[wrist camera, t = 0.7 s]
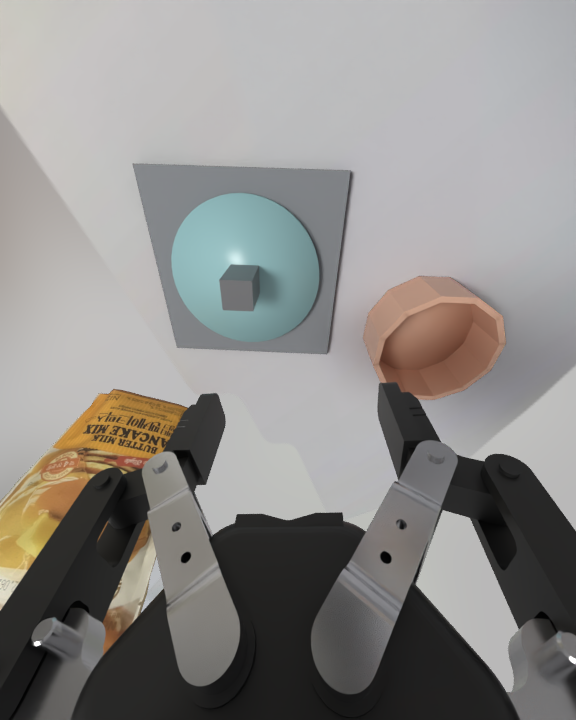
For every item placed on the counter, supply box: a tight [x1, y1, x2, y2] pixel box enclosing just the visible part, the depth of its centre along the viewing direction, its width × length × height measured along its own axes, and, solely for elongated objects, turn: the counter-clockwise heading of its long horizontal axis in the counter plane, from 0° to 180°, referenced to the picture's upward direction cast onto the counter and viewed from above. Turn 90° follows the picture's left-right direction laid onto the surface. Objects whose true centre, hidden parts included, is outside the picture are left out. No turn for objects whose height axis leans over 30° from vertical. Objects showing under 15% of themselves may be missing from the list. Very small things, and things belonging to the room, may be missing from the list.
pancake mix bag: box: [0, 389, 188, 655], centre depth 33 cm, size 7×19×28 cm, turn 72°
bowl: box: [363, 276, 506, 400], centre depth 32 cm, size 13×13×6 cm
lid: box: [171, 193, 319, 342], centre depth 28 cm, size 16×16×6 cm
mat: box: [133, 164, 351, 354], centre depth 31 cm, size 20×20×1 cm
